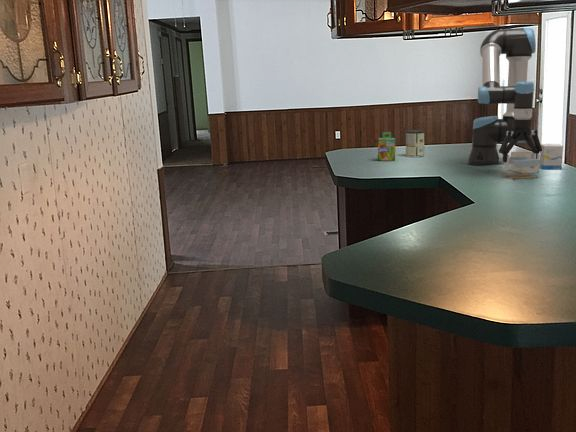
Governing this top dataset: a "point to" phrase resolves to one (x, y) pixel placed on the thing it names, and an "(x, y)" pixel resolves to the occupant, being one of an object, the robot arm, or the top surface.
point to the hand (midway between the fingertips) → (519, 168)
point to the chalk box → (386, 147)
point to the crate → (523, 169)
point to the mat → (519, 176)
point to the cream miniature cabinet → (415, 143)
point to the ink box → (551, 157)
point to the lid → (523, 161)
